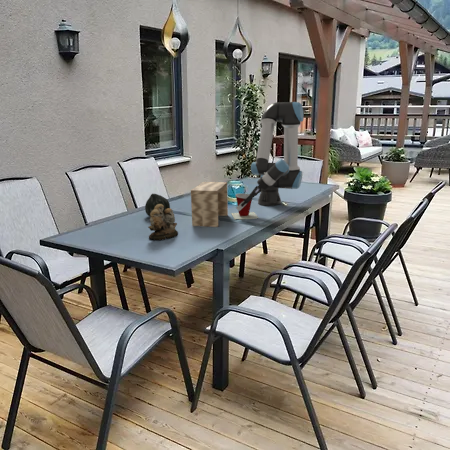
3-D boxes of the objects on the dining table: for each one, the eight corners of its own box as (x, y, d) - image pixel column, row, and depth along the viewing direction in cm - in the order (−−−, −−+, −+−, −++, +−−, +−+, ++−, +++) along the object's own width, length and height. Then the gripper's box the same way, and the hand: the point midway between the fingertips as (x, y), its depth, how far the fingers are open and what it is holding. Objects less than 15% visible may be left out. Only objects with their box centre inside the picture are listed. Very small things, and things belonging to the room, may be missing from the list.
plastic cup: (250, 217, 258) (250, 197, 254) (232, 216, 261) (232, 196, 258) (255, 213, 268) (255, 193, 264) (238, 212, 271) (238, 192, 268)
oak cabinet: (227, 215, 267) (227, 182, 262) (217, 226, 243) (216, 190, 238) (204, 214, 271) (203, 181, 265) (192, 225, 246) (190, 190, 241)
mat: (253, 212, 272) (253, 211, 272) (258, 218, 259) (258, 217, 259) (231, 213, 270) (231, 213, 270) (234, 219, 257) (234, 218, 257)
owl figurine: (159, 243, 218) (156, 209, 213) (142, 239, 225) (139, 206, 220) (183, 233, 232) (181, 201, 227) (167, 230, 239) (164, 199, 234)
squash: (177, 205, 271) (161, 186, 270) (168, 212, 257) (150, 192, 256) (162, 219, 277) (146, 201, 276) (152, 226, 263) (135, 207, 262)
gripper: (264, 173, 267) (238, 198, 274) (258, 180, 246) (231, 207, 253) (272, 182, 267) (247, 207, 274) (268, 189, 246) (240, 216, 253)
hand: (239, 207), depth 264 cm, fingers closed on plastic cup, 10 cm apart
